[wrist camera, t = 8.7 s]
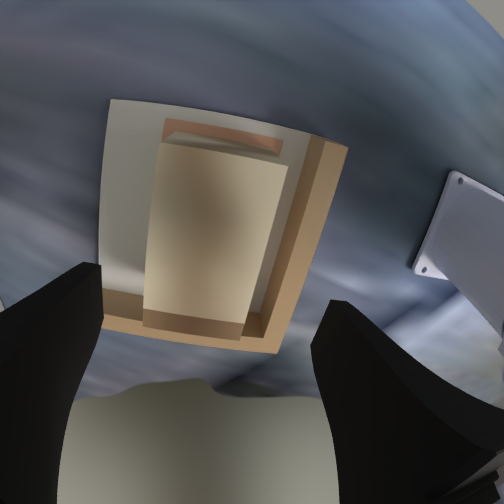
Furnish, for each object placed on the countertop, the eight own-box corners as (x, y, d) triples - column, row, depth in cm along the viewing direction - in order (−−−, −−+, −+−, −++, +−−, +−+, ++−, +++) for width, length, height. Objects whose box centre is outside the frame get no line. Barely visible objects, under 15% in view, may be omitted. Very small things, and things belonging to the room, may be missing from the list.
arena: (328, 138, 16) (348, 147, 14) (270, 323, 22) (277, 353, 19) (114, 98, 14) (92, 100, 12) (102, 297, 20) (89, 325, 17)
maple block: (271, 148, 16) (288, 166, 12) (235, 291, 20) (239, 340, 16) (176, 130, 15) (159, 142, 11) (156, 278, 19) (142, 326, 15)
